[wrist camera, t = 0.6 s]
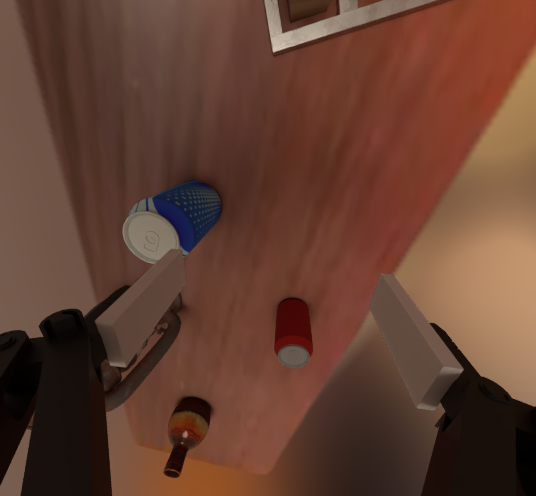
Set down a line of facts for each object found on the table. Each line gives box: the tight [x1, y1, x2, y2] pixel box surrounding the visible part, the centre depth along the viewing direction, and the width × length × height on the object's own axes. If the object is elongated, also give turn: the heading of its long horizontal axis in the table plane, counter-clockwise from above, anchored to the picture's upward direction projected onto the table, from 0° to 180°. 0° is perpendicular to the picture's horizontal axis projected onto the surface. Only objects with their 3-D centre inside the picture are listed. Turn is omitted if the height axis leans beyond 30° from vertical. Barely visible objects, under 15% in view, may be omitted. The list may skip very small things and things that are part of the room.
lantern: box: [27, 292, 182, 430], centre depth 35 cm, size 11×16×35 cm
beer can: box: [123, 180, 222, 264], centre depth 33 cm, size 8×8×16 cm
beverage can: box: [274, 299, 313, 368], centre depth 43 cm, size 7×7×12 cm
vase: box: [163, 398, 210, 478], centre depth 61 cm, size 11×11×15 cm
